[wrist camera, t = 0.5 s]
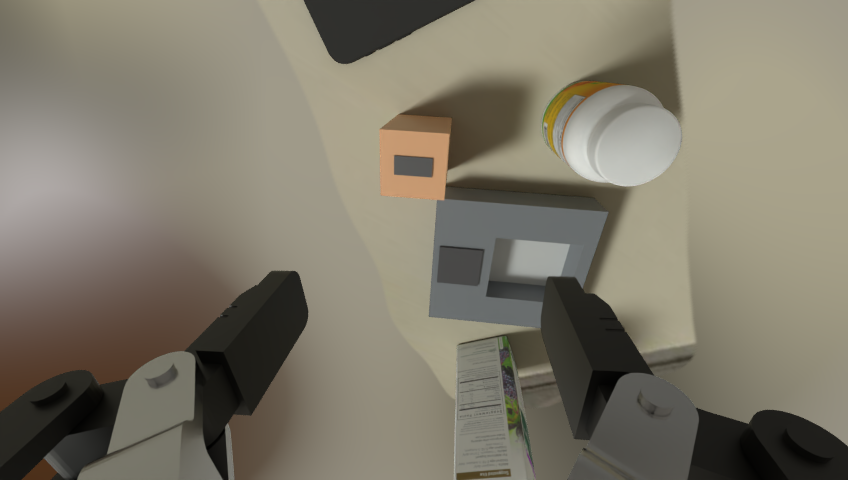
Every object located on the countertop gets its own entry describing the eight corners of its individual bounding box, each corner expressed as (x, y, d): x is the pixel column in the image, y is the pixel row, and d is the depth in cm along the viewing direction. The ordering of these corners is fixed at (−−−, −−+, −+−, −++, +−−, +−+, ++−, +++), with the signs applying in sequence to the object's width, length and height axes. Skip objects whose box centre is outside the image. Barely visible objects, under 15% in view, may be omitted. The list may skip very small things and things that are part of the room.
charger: (398, 114, 26) (379, 129, 20) (451, 117, 25) (449, 134, 19) (398, 166, 28) (380, 196, 21) (447, 170, 27) (444, 201, 21)
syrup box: (518, 369, 38) (549, 525, 25) (468, 378, 39) (473, 529, 26) (506, 333, 35) (532, 485, 22) (453, 344, 37) (450, 492, 24)
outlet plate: (439, 186, 28) (437, 199, 25) (594, 197, 27) (609, 212, 24) (431, 297, 34) (428, 318, 31) (559, 309, 33) (568, 332, 30)
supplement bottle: (631, 99, 24) (728, 119, 15) (585, 166, 26) (646, 215, 18) (566, 67, 23) (629, 67, 15) (526, 138, 26) (559, 174, 17)
